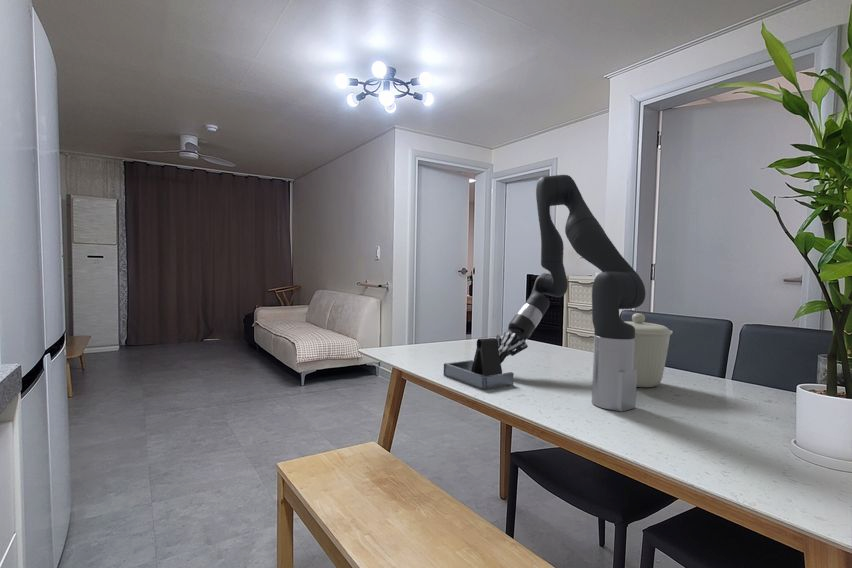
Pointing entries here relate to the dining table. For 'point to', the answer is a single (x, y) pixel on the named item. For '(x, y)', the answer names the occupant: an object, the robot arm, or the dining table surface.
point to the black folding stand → (487, 357)
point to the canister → (649, 350)
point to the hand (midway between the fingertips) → (496, 362)
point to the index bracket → (476, 376)
